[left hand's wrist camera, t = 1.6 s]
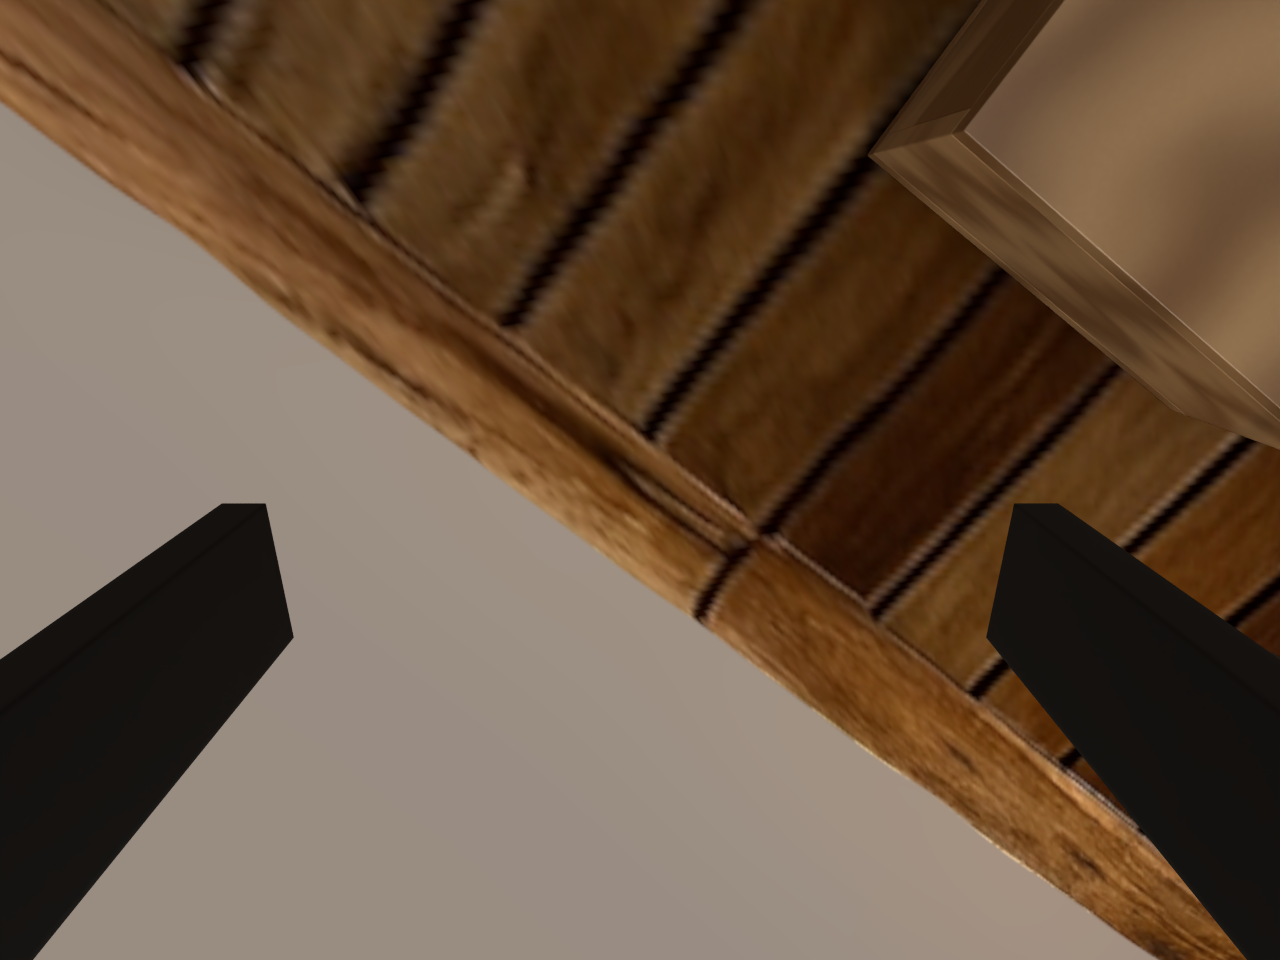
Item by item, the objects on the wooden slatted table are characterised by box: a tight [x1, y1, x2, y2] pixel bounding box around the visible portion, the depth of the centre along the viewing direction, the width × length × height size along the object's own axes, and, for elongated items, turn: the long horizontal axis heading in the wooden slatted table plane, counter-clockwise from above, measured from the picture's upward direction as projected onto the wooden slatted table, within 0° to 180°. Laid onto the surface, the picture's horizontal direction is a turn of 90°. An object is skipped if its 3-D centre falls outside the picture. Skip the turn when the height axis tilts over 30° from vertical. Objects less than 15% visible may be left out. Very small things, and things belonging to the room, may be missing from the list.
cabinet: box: [868, 0, 1280, 449], centre depth 27 cm, size 21×12×10 cm, turn 55°
